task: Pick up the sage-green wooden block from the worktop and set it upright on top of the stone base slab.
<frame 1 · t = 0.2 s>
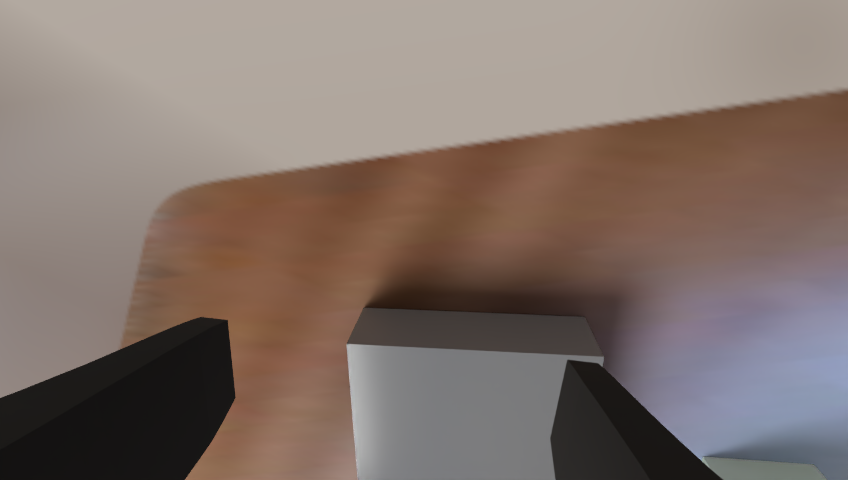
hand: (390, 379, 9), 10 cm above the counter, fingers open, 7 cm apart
stone base: (468, 401, 21), on the counter
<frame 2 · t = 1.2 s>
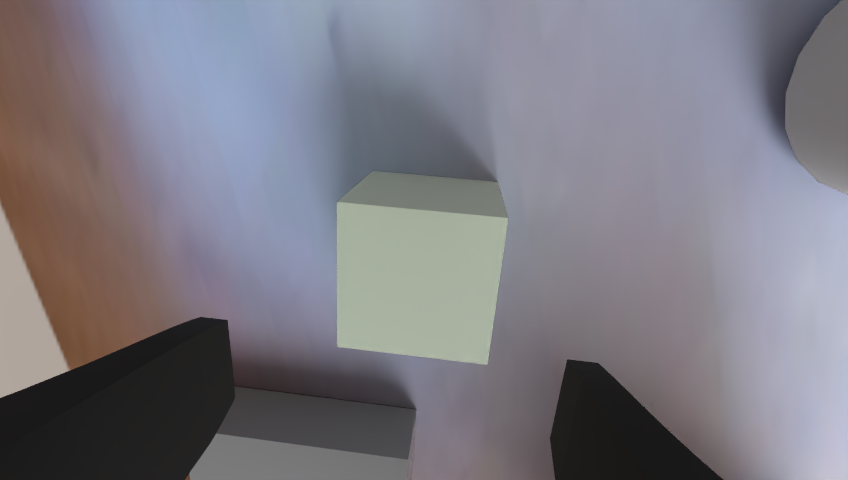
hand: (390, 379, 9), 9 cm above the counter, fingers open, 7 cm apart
green block: (430, 234, 18), on the counter
stone base: (318, 472, 23), on the counter
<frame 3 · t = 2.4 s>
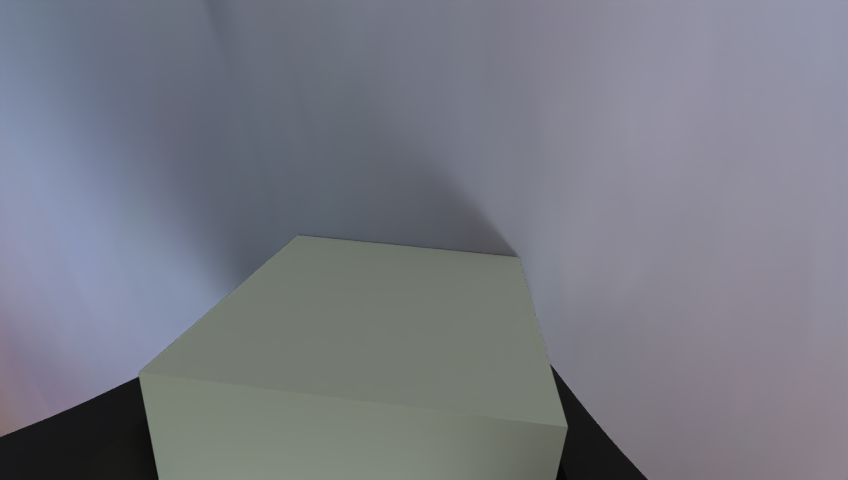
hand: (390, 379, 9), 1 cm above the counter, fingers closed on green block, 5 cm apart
green block: (400, 341, 10), on the counter, touching gripper
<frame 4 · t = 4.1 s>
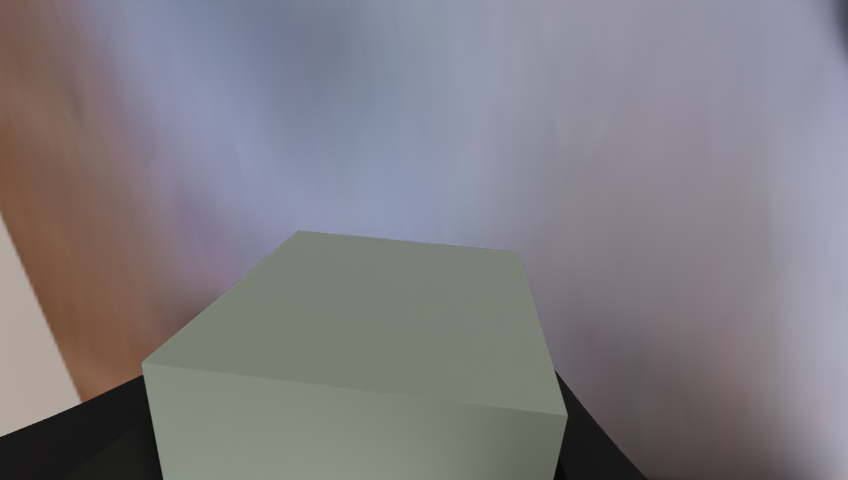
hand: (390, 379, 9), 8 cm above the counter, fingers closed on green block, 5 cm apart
green block: (401, 336, 10), point 7 cm above the counter, touching gripper
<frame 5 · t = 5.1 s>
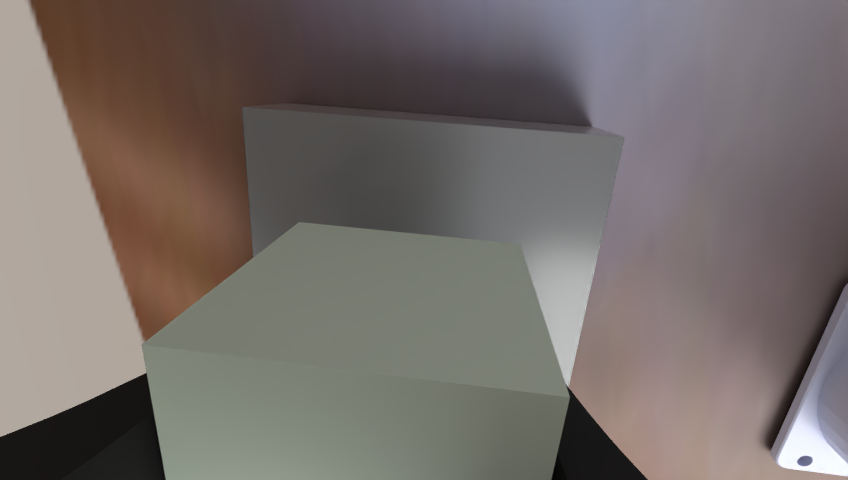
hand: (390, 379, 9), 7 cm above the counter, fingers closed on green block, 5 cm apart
green block: (401, 329, 10), point 5 cm above the counter, touching gripper
stone base: (425, 256, 16), on the counter
when the fingers open (6 cm above the counter, at t = 5.8 s): green block drops 1 cm, resting on stone base.
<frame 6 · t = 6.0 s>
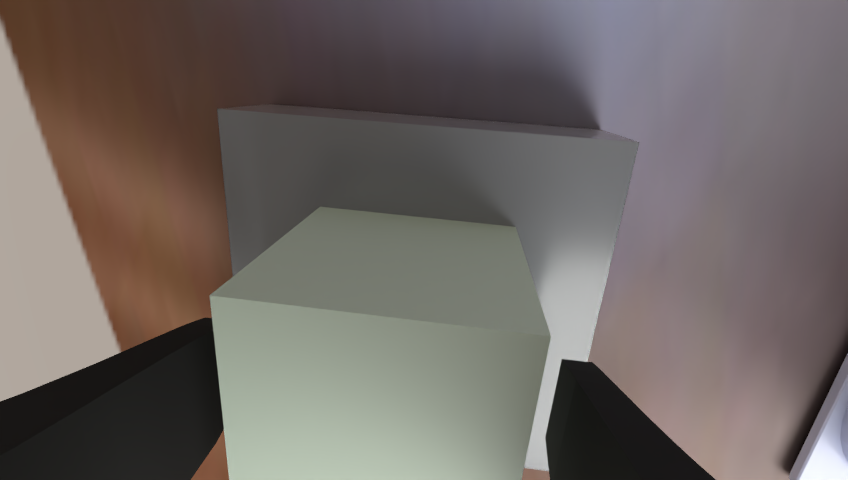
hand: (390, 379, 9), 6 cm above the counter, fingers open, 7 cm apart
green block: (409, 303, 12), point 3 cm above the counter, touching stone base
stone base: (420, 268, 15), on the counter
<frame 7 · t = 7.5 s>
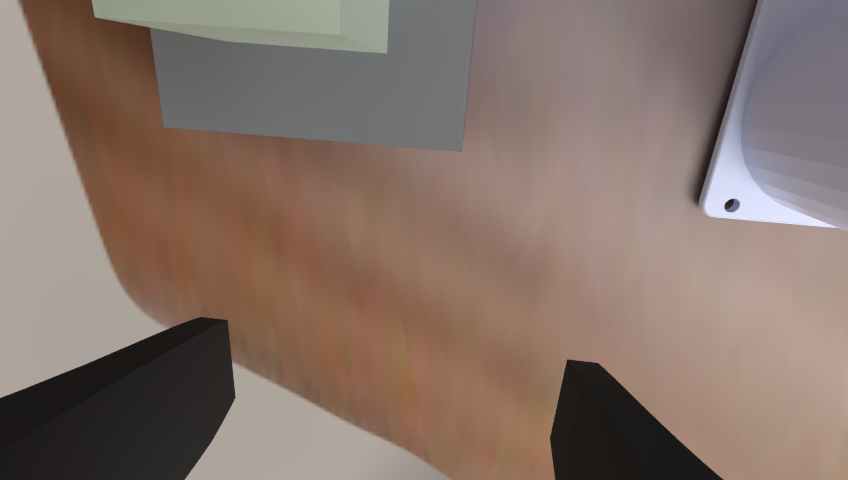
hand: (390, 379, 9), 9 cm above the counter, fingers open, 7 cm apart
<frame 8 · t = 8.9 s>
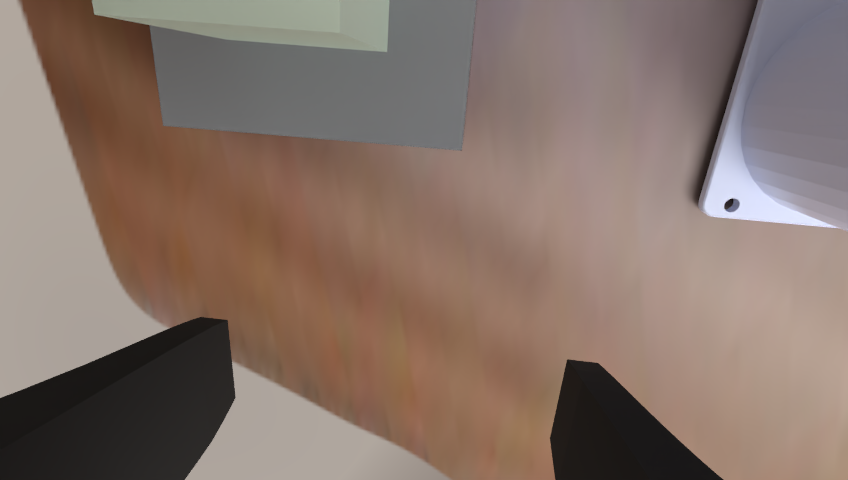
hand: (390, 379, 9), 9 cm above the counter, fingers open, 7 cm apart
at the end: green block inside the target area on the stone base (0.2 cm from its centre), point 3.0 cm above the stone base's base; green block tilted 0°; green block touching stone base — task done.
